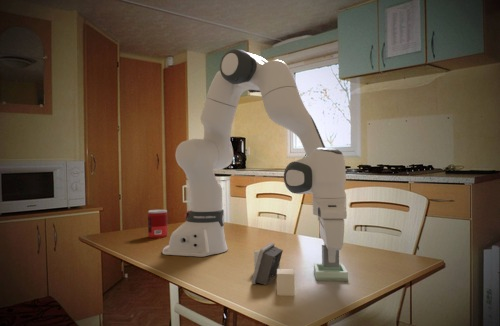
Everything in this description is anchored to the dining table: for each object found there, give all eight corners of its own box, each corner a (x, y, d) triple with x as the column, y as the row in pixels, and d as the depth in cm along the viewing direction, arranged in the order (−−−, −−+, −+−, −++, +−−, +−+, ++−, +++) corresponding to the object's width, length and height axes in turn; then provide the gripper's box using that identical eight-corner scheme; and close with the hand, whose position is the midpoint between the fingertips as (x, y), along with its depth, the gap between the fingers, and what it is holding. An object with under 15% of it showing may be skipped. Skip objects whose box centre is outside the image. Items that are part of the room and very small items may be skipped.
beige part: (277, 295, 86) (276, 273, 86) (277, 289, 90) (277, 268, 90) (294, 295, 86) (294, 274, 86) (294, 289, 90) (293, 269, 90)
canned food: (171, 235, 159) (170, 210, 159) (157, 239, 152) (156, 212, 152) (158, 234, 163) (158, 209, 163) (144, 237, 156) (143, 211, 156)
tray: (316, 280, 96) (316, 272, 96) (313, 271, 104) (313, 263, 104) (348, 280, 96) (347, 272, 96) (342, 271, 104) (342, 263, 104)
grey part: (323, 267, 98) (323, 248, 98) (322, 263, 102) (321, 245, 102) (339, 267, 98) (338, 248, 98) (336, 263, 102) (336, 245, 102)
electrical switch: (263, 274, 102) (266, 241, 102) (281, 278, 100) (284, 244, 100) (250, 285, 94) (253, 248, 93) (270, 289, 92) (272, 252, 91)
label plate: (254, 272, 104) (254, 251, 104) (254, 272, 105) (254, 250, 105) (279, 273, 103) (279, 251, 103) (279, 272, 104) (279, 250, 104)
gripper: (314, 203, 111) (314, 250, 111) (321, 213, 90) (322, 270, 90) (335, 203, 110) (336, 250, 110) (348, 212, 90) (349, 270, 90)
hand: (330, 259), depth 100 cm, fingers closed on grey part, 4 cm apart
